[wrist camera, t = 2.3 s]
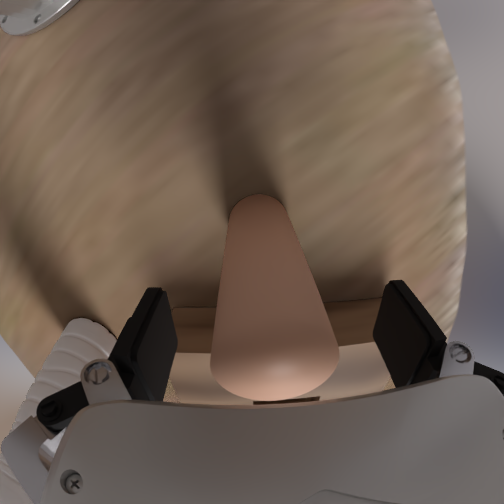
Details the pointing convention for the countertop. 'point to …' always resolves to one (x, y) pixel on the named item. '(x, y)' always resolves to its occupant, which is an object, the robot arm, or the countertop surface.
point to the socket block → (336, 386)
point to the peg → (269, 309)
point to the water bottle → (57, 384)
